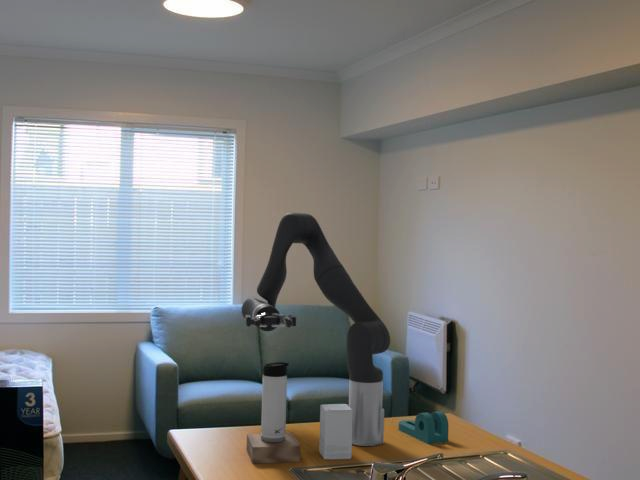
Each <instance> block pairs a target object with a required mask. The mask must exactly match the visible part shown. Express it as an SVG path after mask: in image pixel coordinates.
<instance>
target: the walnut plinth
mask: <svg viewBox="0 0 640 480" xmlns="http://www.w3.org/2000/svg"><path fill="white" fill-rule="evenodd" d="M246 452H247V454H248V456H249V458H250V461H251V464H268V463H269V464H273V463H274V464H275V463H276V464H277V463H293V462H294V463H296V462H301V444H300V443H299V441H298V440H297V439H296V437H295V435H294V434H293V433H292V432H285V440H284V441H282V442H277V443H270V442H264V441H262V440H261V433H252V434H251V433H250V434H249V433H248V434H246Z"/></svg>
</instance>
